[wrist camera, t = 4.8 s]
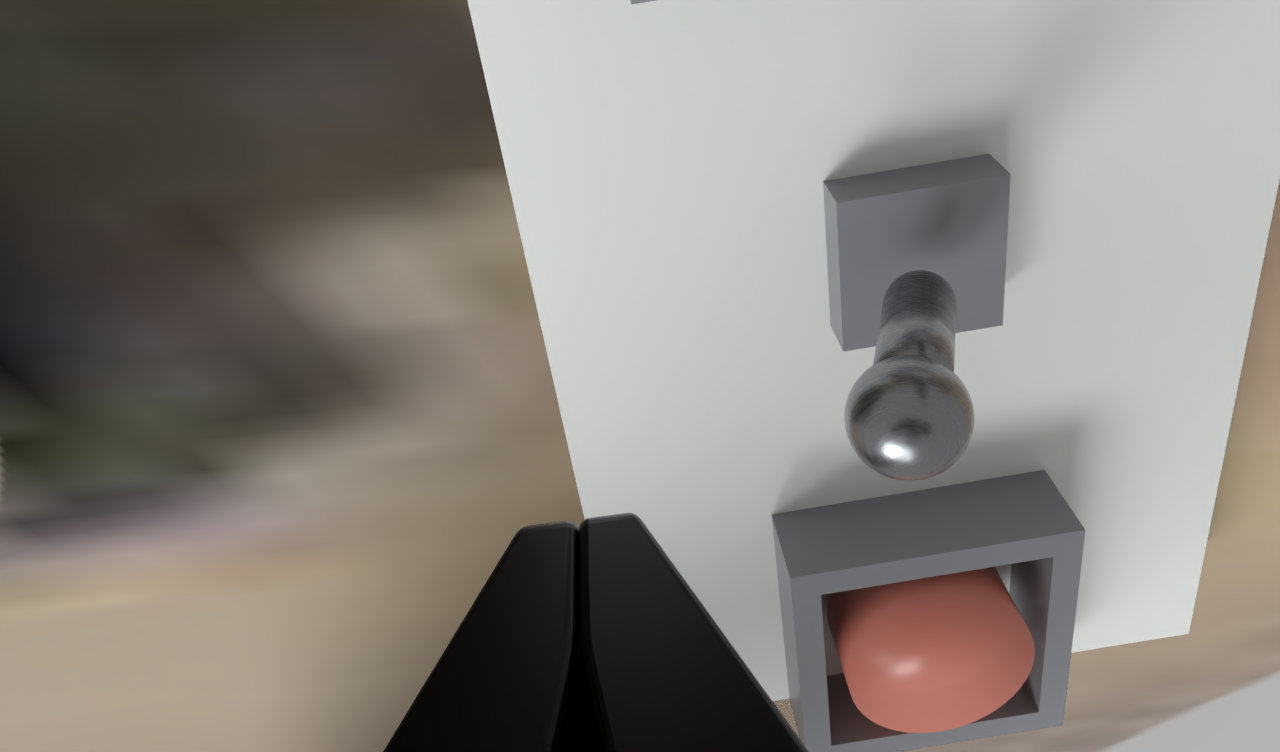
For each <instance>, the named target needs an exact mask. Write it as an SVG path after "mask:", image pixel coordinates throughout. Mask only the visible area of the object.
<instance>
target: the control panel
mask: <svg viewBox="0 0 1280 752" xmlns="http://www.w3.org/2000/svg"><path fill="white" fill-rule="evenodd" d="M468 5H469V9H470V13H471V18H472V22H473V27H474V31H475V36H476V40H477V45H478V49H479V53H480V58H481V62H482V67H483V71H484V76H485V80H486V84H487V89H488V93H489V98H490V102H491V107H492V111H493V115H494V120H495V124H496V129H497V133H498V138H499V142H500V147H501V151H502V155H503V160H504V164H505V169H506V173H507V178H508V182H509V186H510V191H511V195H512V200H513V204H514V209H515V213H516V217H517V222H518V226H519V231H520V235H521V240H522V244H523V249H524V253H525V257H526V262H527V266H528V271H529V275H530V280H531V284H532V288H533V293H534V297H535V302H536V306H537V311H538V315H539V319H540V324H541V328H542V333H543V337H544V342H545V346H546V351H547V355H548V359H549V364H550V368H551V373H552V377H553V382H554V386H555V390H556V395H557V399H558V404H559V408H560V413H561V417H562V421H563V426H564V430H565V435H566V439H567V444H568V448H569V453H570V457H571V461H572V466H573V470H574V475H575V479H576V484H577V488H578V492H579V497H580V501H581V506H582V510H583V515H584V519H587V518H592V517H599V516H607V515H614V514H622V513H633V514H636V515H637V516H638V517H639V518H640V519H641V520H642V521H643V522H644V524H645V525H646V527H647V528H648V529H649V531H650V532H651V533H652V535H653V536H654V538H655V539H656V540H657V542H658V543H659V545H660V546H661V547H662V549H663V550H664V552H665V553H666V554H667V556H668V557H669V558H670V560H671V561H672V563H673V564H674V565H675V567H676V568H677V570H678V571H679V572H680V574H681V575H682V576H683V578H684V579H685V581H686V582H687V583H688V585H689V586H690V588H691V589H692V590H693V592H694V593H695V595H696V596H697V597H698V599H699V600H700V601H701V603H702V604H703V606H704V607H705V608H706V610H707V611H708V613H709V614H710V615H711V617H712V618H713V619H714V621H715V622H716V624H717V625H718V626H719V628H720V629H721V631H722V632H723V633H724V635H725V636H726V638H727V639H728V640H729V642H730V643H731V644H732V646H733V647H734V649H735V650H736V651H737V653H738V654H739V656H740V657H741V658H742V660H743V661H744V662H745V664H746V665H747V667H748V668H749V669H750V671H751V672H752V674H753V675H754V676H755V678H756V679H757V681H758V682H759V683H760V685H761V686H762V687H763V689H764V690H765V692H766V693H767V694H768V696H769V697H770V699H771V700H772V701H777V700H783V699H789V698H790V702H791V706H792V710H793V714H794V718H795V722H796V726H797V730H798V733H799V737H800V740H801V742H802V743H803V744H804V746H805V747H806V748H807V750H808V751H809V752H900V751H906V750H913V749H919V748H925V747H931V746H937V745H943V744H950V743H956V742H962V741H968V740H974V739H981V738H987V737H993V736H999V735H1005V734H1011V733H1018V732H1024V731H1030V730H1036V729H1042V728H1049V727H1055V726H1061V725H1063V720H1064V711H1065V702H1066V694H1067V685H1068V676H1069V668H1070V659H1071V653H1072V652H1078V651H1084V650H1091V649H1097V648H1103V647H1109V646H1115V645H1121V644H1128V643H1134V642H1140V641H1146V640H1152V639H1158V638H1165V637H1171V636H1177V635H1183V634H1189V629H1190V624H1191V619H1192V614H1193V609H1194V604H1195V599H1196V594H1197V589H1198V584H1199V579H1200V574H1201V569H1202V564H1203V559H1204V554H1205V549H1206V544H1207V539H1208V534H1209V529H1210V524H1211V519H1212V514H1213V509H1214V504H1215V499H1216V494H1217V489H1218V484H1219V479H1220V474H1221V469H1222V464H1223V459H1224V454H1225V449H1226V444H1227V439H1228V434H1229V429H1230V424H1231V419H1232V414H1233V409H1234V404H1235V399H1236V394H1237V389H1238V384H1239V379H1240V374H1241V369H1242V364H1243V359H1244V355H1245V350H1246V345H1247V340H1248V335H1249V330H1250V325H1251V320H1252V315H1253V310H1254V305H1255V300H1256V295H1257V290H1258V285H1259V280H1260V275H1261V270H1262V265H1263V260H1264V255H1265V250H1266V245H1267V240H1268V235H1269V230H1270V225H1271V220H1272V215H1273V210H1274V205H1275V200H1276V195H1277V190H1278V185H1279V180H1280V0H468ZM916 270H925V271H930V272H934V273H936V274H938V275H940V276H941V277H943V278H944V279H945V280H946V281H947V282H948V283H949V284H950V286H951V287H952V289H953V291H954V293H955V296H956V302H957V313H956V337H955V361H954V373H955V374H956V375H957V376H958V377H959V378H960V380H961V381H962V382H963V384H964V385H965V387H966V389H967V390H968V392H969V395H970V397H971V400H972V404H973V408H974V427H973V433H972V437H971V440H970V442H969V444H968V446H967V448H966V450H965V451H964V453H963V454H962V456H961V457H960V458H959V459H958V460H957V462H956V463H954V464H953V465H952V466H951V467H950V468H948V469H947V470H945V471H944V472H942V473H940V474H938V475H936V476H933V477H931V478H927V479H923V480H916V481H904V480H897V479H892V478H889V477H886V476H884V475H881V474H879V473H878V472H876V471H874V470H873V469H871V468H870V467H869V466H867V465H866V464H865V463H864V462H863V461H862V460H861V459H860V458H859V457H858V455H857V454H856V453H855V451H854V450H853V448H852V446H851V444H850V442H849V439H848V437H847V433H846V429H845V422H844V413H845V405H846V401H847V398H848V395H849V392H850V390H851V389H852V387H853V385H854V383H855V382H856V381H857V379H858V378H859V377H860V376H861V375H862V374H863V373H864V372H865V371H866V370H867V369H868V368H870V367H871V366H872V365H873V362H874V355H875V349H876V343H877V336H878V330H879V323H880V317H881V310H882V304H883V299H884V296H885V293H886V290H887V289H888V287H889V286H890V284H891V283H892V282H893V281H894V280H895V279H896V278H898V277H899V276H901V275H902V274H905V273H907V272H910V271H916ZM989 567H995V568H996V570H997V572H998V574H999V575H1000V577H1001V579H1002V581H1003V583H1004V585H1005V587H1006V588H1007V590H1008V592H1009V594H1010V596H1011V598H1012V600H1013V601H1014V603H1015V605H1016V607H1017V609H1018V611H1019V612H1020V614H1021V616H1022V618H1023V620H1024V622H1025V624H1026V625H1027V627H1028V629H1029V631H1030V633H1031V636H1032V638H1033V642H1034V646H1035V656H1034V662H1033V666H1032V669H1031V671H1030V674H1029V675H1028V677H1027V679H1026V681H1025V682H1024V684H1023V685H1022V687H1021V688H1020V689H1019V690H1018V691H1017V692H1016V694H1015V695H1014V696H1013V697H1012V698H1011V699H1009V700H1008V701H1007V702H1006V703H1005V704H1004V705H1002V706H1001V707H999V708H998V709H997V710H995V711H994V712H992V713H990V714H989V715H987V716H985V717H983V718H981V719H979V720H977V721H975V722H972V723H969V724H967V725H964V726H961V727H958V728H954V729H950V730H945V731H940V732H932V733H907V732H901V731H895V730H892V729H888V728H885V727H883V726H880V725H878V724H876V723H874V722H873V721H871V720H869V719H868V718H867V717H866V716H864V715H863V714H862V713H861V712H860V711H859V709H858V708H857V707H856V705H855V703H854V702H853V699H852V697H851V694H850V691H849V688H848V685H847V681H846V678H845V675H844V672H843V669H842V666H841V663H840V659H839V656H838V653H837V650H836V647H835V644H834V641H833V638H832V634H831V631H830V628H829V625H828V618H827V613H828V605H829V600H830V598H831V595H832V593H836V592H842V591H848V590H854V589H860V588H867V587H873V586H879V585H885V584H891V583H897V582H903V581H909V580H916V579H922V578H928V577H934V576H940V575H946V574H952V573H958V572H965V571H971V570H977V569H983V568H989Z"/></svg>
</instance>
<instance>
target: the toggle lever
mask: <svg viewBox="0 0 1280 752" xmlns="http://www.w3.org/2000/svg"><path fill="white" fill-rule="evenodd" d="M956 313H957V302H956V296H955V293H954V291H953V289H952V287H951V286H950V284H949V283H948V282H947V281H946V280H945V279H944V278H943V277H941V276H940V275H938V274H936V273H934V272H930V271H925V270H916V271H910V272H907V273H905V274H902V275H901V276H899V277H898V278H896V279H895V280H894V281H893V282H892V283H891V284H890V286H889V287H888V289H887V290H886V293H885V296H884V299H883V304H882V310H881V317H880V323H879V330H878V336H877V343H876V349H875V355H874V362H873V365H872V366H871V367H870V368H868V369H867V370H866V371H865V372H864V373H863V374H862V375H861V376H860V377H859V378H858V379H857V381H856V382H855V383H854V385H853V387H852V389H851V390H850V392H849V395H848V398H847V401H846V405H845V413H844V422H845V429H846V433H847V437H848V439H849V442H850V444H851V446H852V448H853V450H854V451H855V453H856V454H857V455H858V457H859V458H860V459H861V460H862V461H863V462H864V463H865V464H866V465H867V466H869V467H870V468H871V469H873V470H874V471H876V472H878V473H879V474H881V475H884V476H886V477H889V478H892V479H897V480H904V481H916V480H923V479H927V478H931V477H933V476H936V475H938V474H940V473H942V472H944V471H945V470H947V469H948V468H950V467H951V466H952V465H953V464H954V463H956V462H957V460H958V459H959V458H960V457H961V456H962V454H963V453H964V451H965V450H966V448H967V446H968V444H969V442H970V440H971V437H972V433H973V427H974V408H973V404H972V400H971V397H970V395H969V392H968V390H967V389H966V387H965V385H964V384H963V382H962V381H961V380H960V378H959V377H958V376H957V375H956V374H955V373H954V361H955V337H956Z"/></svg>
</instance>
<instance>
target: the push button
mask: <svg viewBox="0 0 1280 752" xmlns="http://www.w3.org/2000/svg"><path fill="white" fill-rule="evenodd" d="M827 618H828V625H829V628H830V631H831V634H832V638H833V641H834V644H835V647H836V650H837V653H838V656H839V659H840V663H841V666H842V669H843V672H844V675H845V678H846V681H847V685H848V688H849V691H850V694H851V697H852V699H853V702H854V703H855V705H856V707H857V708H858V709H859V711H860V712H861V713H862V714H863V715H864V716H866V717H867V718H868V719H869V720H871V721H873V722H874V723H876V724H878V725H880V726H883V727H885V728H888V729H892V730H895V731H901V732H907V733H932V732H940V731H945V730H950V729H954V728H958V727H961V726H964V725H967V724H969V723H972V722H975V721H977V720H979V719H981V718H983V717H985V716H987V715H989V714H990V713H992V712H994V711H995V710H997V709H998V708H999V707H1001V706H1002V705H1004V704H1005V703H1006V702H1007V701H1008V700H1009V699H1011V698H1012V697H1013V696H1014V695H1015V694H1016V692H1017V691H1018V690H1019V689H1020V688H1021V687H1022V685H1023V684H1024V682H1025V681H1026V679H1027V677H1028V675H1029V674H1030V671H1031V669H1032V666H1033V662H1034V656H1035V646H1034V642H1033V638H1032V636H1031V633H1030V631H1029V629H1028V627H1027V625H1026V624H1025V622H1024V620H1023V618H1022V616H1021V614H1020V612H1019V611H1018V609H1017V607H1016V605H1015V603H1014V601H1013V600H1012V598H1011V596H1010V594H1009V592H1008V590H1007V588H1006V587H1005V585H1004V583H1003V581H1002V579H1001V577H1000V575H999V574H998V572H997V570H996V568H995V567H989V568H983V569H977V570H971V571H965V572H958V573H952V574H946V575H940V576H934V577H928V578H922V579H916V580H909V581H903V582H897V583H891V584H885V585H879V586H873V587H867V588H860V589H854V590H848V591H842V592H836V593H832V595H831V598H830V600H829V605H828V613H827Z"/></svg>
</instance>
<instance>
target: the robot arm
mask: <svg viewBox="0 0 1280 752" xmlns="http://www.w3.org/2000/svg"><path fill="white" fill-rule="evenodd" d="M383 752H809V751H808V750H807V748H806V747H805V746H804V744H803V743H802V742H801V740H800V739H799V737H798V736H797V735H796V733H795V732H794V730H793V729H792V728H791V726H790V725H789V724H788V722H787V721H786V719H785V718H784V717H783V715H782V714H781V712H780V711H779V710H778V708H777V707H776V705H775V704H774V703H773V701H772V700H771V699H770V697H769V696H768V694H767V693H766V692H765V690H764V689H763V687H762V686H761V685H760V683H759V682H758V681H757V679H756V678H755V676H754V675H753V674H752V672H751V671H750V669H749V668H748V667H747V665H746V664H745V662H744V661H743V660H742V658H741V657H740V656H739V654H738V653H737V651H736V650H735V649H734V647H733V646H732V644H731V643H730V642H729V640H728V639H727V638H726V636H725V635H724V633H723V632H722V631H721V629H720V628H719V626H718V625H717V624H716V622H715V621H714V619H713V618H712V617H711V615H710V614H709V613H708V611H707V610H706V608H705V607H704V606H703V604H702V603H701V601H700V600H699V599H698V597H697V596H696V595H695V593H694V592H693V590H692V589H691V588H690V586H689V585H688V583H687V582H686V581H685V579H684V578H683V576H682V575H681V574H680V572H679V571H678V570H677V568H676V567H675V565H674V564H673V563H672V561H671V560H670V558H669V557H668V556H667V554H666V553H665V552H664V550H663V549H662V547H661V546H660V545H659V543H658V542H657V540H656V539H655V538H654V536H653V535H652V533H651V532H650V531H649V529H648V528H647V527H646V525H645V524H644V522H643V521H642V520H641V519H640V518H639V517H638V516H637V515H636V514H633V513H622V514H614V515H607V516H599V517H592V518H587V519H585V520H584V521H582V523H581V525H580V527H579V528H578V526H577V525H576V524H575V523H574V522H572V521H561V522H554V523H546V524H539V525H531V526H526V527H523V528H522V529H520V530H519V531H518V532H517V533H516V535H515V536H514V538H513V539H512V541H511V543H510V544H509V546H508V548H507V549H506V551H505V553H504V554H503V556H502V557H501V559H500V561H499V562H498V564H497V566H496V567H495V569H494V571H493V572H492V574H491V576H490V577H489V579H488V580H487V582H486V584H485V585H484V587H483V589H482V590H481V592H480V594H479V595H478V597H477V599H476V600H475V602H474V603H473V605H472V607H471V608H470V610H469V612H468V613H467V615H466V617H465V618H464V620H463V622H462V623H461V625H460V627H459V628H458V630H457V631H456V633H455V635H454V636H453V638H452V640H451V641H450V643H449V645H448V646H447V648H446V650H445V651H444V653H443V654H442V656H441V658H440V659H439V661H438V663H437V664H436V666H435V668H434V669H433V671H432V673H431V674H430V676H429V677H428V679H427V681H426V682H425V684H424V686H423V687H422V689H421V691H420V692H419V694H418V696H417V697H416V699H415V700H414V702H413V704H412V705H411V707H410V709H409V710H408V712H407V714H406V715H405V717H404V719H403V720H402V722H401V723H400V725H399V727H398V728H397V730H396V732H395V733H394V735H393V737H392V738H391V740H390V742H389V743H388V745H387V747H386V748H385V750H384V751H383Z"/></svg>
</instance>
